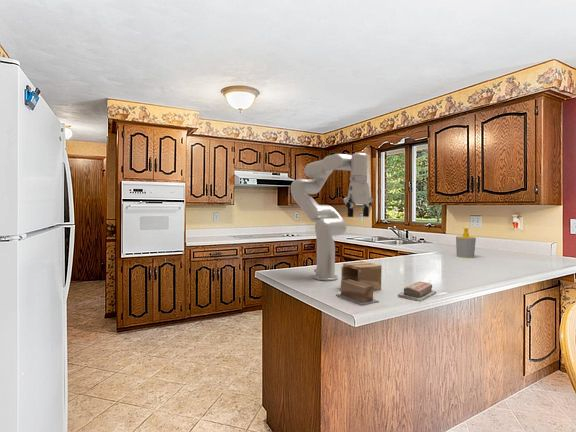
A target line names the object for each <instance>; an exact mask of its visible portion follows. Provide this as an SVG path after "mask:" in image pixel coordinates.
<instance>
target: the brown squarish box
mask: <svg viewBox="0 0 576 432" xmlns="http://www.w3.org/2000/svg"><path fill="white" fill-rule="evenodd" d="M382 268H383V267H382V265H381V264H376V263H372V262H367V261H364V260H361V261H354V262H345V263H344V262H343V263H342V265H341V281H342V280H349V279H350V280H354V281H357V282H361V283H364V284H367V285H371V286H373V292H375V291H380V290H382ZM341 281H340V282H341Z"/></svg>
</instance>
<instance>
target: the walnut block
mask: <svg viewBox="0 0 576 432" xmlns="http://www.w3.org/2000/svg"><path fill="white" fill-rule="evenodd" d="M340 294H341V295H344V296H347V297H349V298H352V299H355V300H358V301H360V302H363V303H365V302H370V301H373V299H374V291H373V286H371V285H367V284H364V283H361V282H357V281H354V280H350V279H349V280H342V281H340Z"/></svg>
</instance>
